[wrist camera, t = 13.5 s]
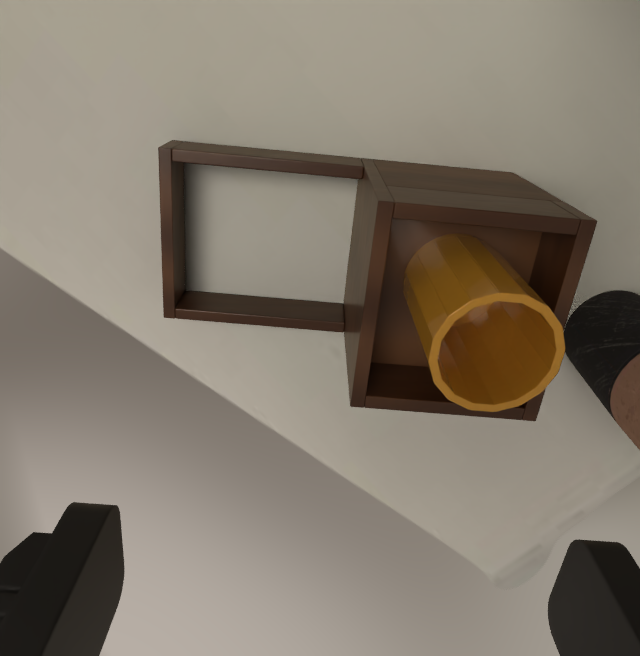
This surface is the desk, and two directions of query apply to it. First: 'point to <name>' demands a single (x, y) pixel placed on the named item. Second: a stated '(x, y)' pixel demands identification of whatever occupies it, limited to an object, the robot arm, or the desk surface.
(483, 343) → the cup
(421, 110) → the desk surface
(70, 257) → the desk surface
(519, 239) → the organizer
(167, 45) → the desk surface
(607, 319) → the travel mug
